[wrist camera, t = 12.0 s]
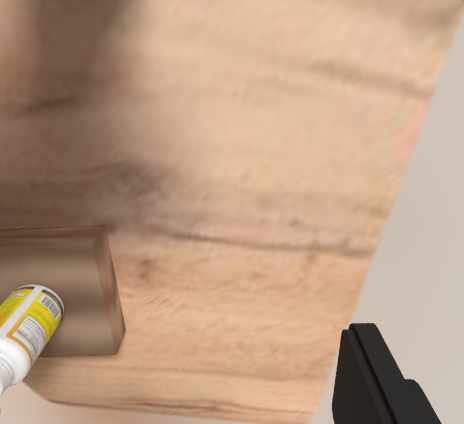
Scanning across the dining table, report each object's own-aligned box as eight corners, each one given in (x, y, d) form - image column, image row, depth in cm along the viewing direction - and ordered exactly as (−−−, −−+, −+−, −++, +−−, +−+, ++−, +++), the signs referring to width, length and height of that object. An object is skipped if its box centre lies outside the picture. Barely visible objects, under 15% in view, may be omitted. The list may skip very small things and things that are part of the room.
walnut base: (-25, 230, 39) (-52, 248, 35) (104, 225, 39) (91, 243, 35) (12, 333, 45) (-8, 358, 41) (125, 330, 44) (116, 354, 41)
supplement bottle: (7, 314, 38) (-67, 398, 29) (18, 273, 36) (-56, 349, 27) (59, 332, 39) (4, 419, 30) (73, 293, 37) (19, 373, 28)
